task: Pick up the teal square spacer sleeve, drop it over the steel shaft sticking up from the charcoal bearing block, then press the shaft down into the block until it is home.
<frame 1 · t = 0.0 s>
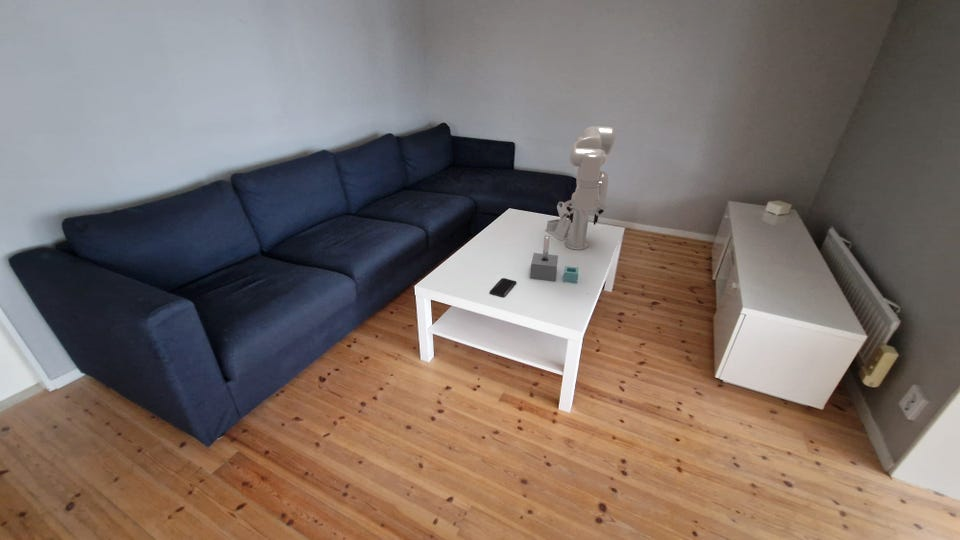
hand: (582, 222, 169), 31 cm above the table, tool pointing down, fingers open, 9 cm apart
shaft: (545, 250, 187), point 13 cm above the table, slide at 5.0 cm
bearing block: (543, 273, 193), on the table
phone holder: (559, 234, 237), on the table
phone: (503, 289, 182), on the table
spacer: (570, 278, 189), on the table
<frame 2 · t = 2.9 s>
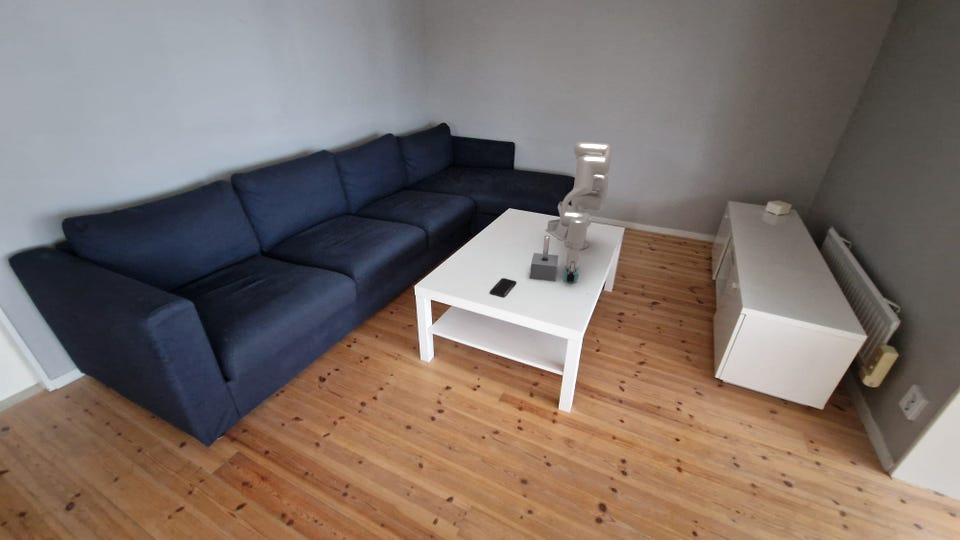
hand: (570, 277, 189), 1 cm above the table, tool pointing down, fingers closed on spacer, 6 cm apart
spacer: (570, 279, 189), on the table, touching gripper
everything else where it was.
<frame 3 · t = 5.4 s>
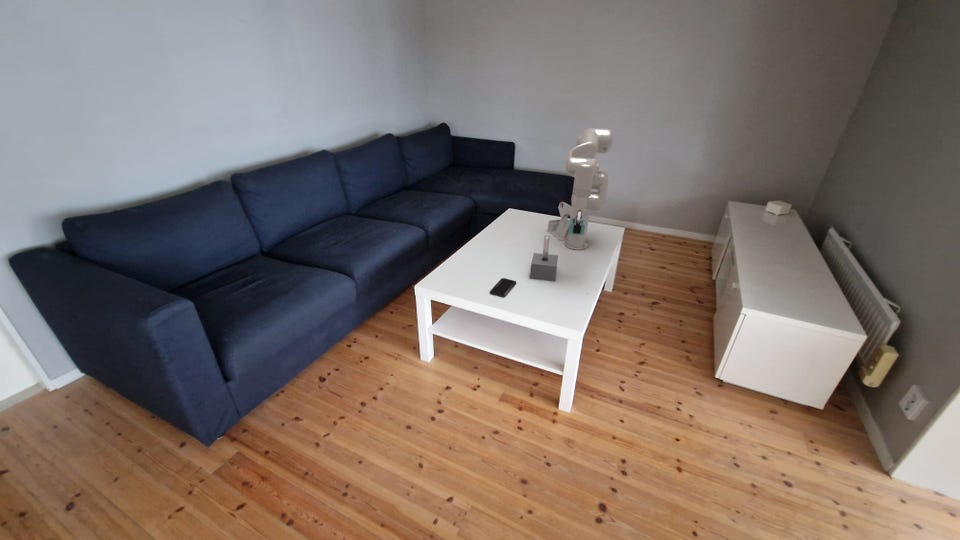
hand: (576, 229, 177), 26 cm above the table, tool pointing down, fingers closed on spacer, 6 cm apart
spacer: (576, 231, 177), point 25 cm above the table, touching gripper
everything else where it was.
when the fingers open (18 cm above the table, at t = 8.2 s): spacer drops 9 cm, resting on bearing block.
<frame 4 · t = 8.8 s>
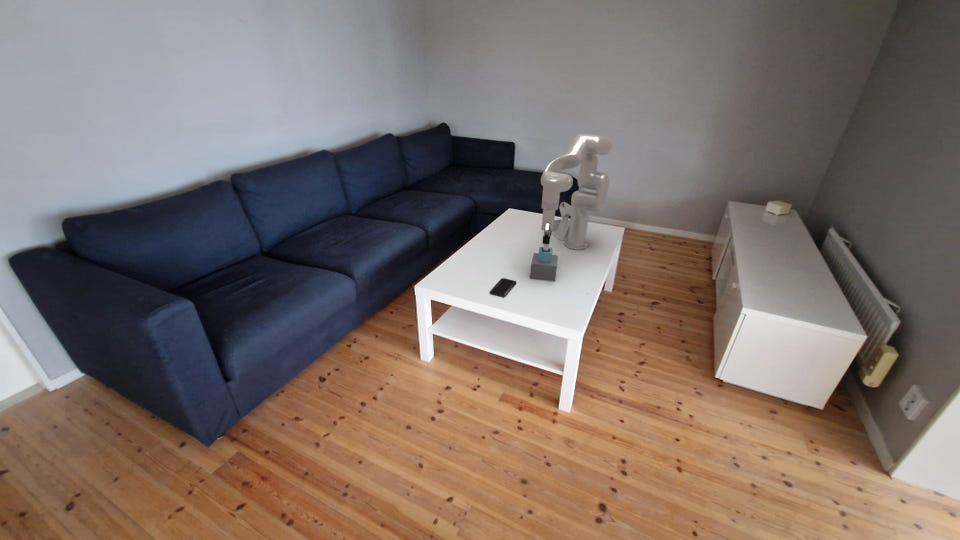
hand: (546, 239, 184), 19 cm above the table, tool pointing down, fingers open, 9 cm apart
spacer: (544, 259, 189), point 8 cm above the table, touching bearing block
everything else where it was.
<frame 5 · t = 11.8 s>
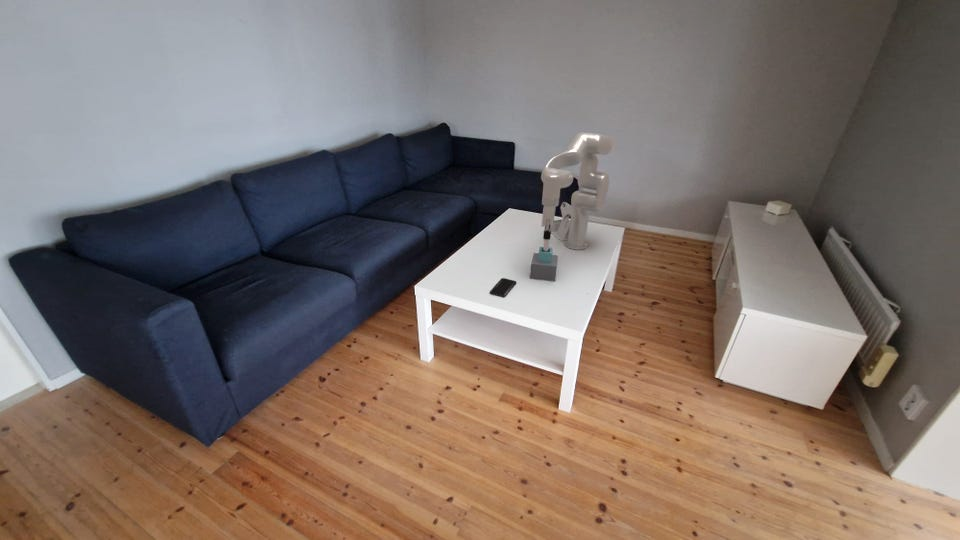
hand: (546, 238, 184), 19 cm above the table, tool pointing down, fingers closed
shaft: (545, 251, 188), point 12 cm above the table, slide at 4.0 cm, touching gripper
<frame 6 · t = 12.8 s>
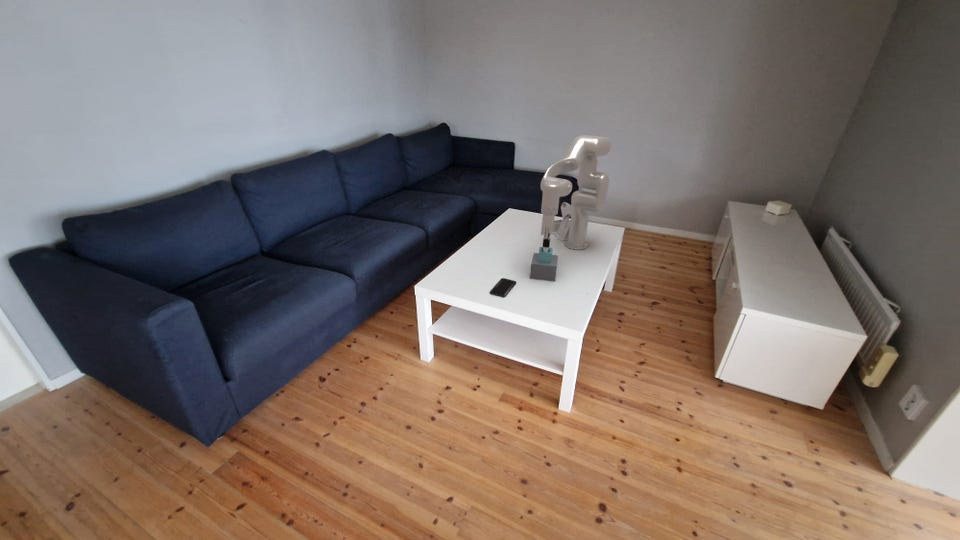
hand: (546, 246, 186), 15 cm above the table, tool pointing down, fingers closed
shaft: (544, 259, 189), point 8 cm above the table, slide at 0.0 cm, touching gripper
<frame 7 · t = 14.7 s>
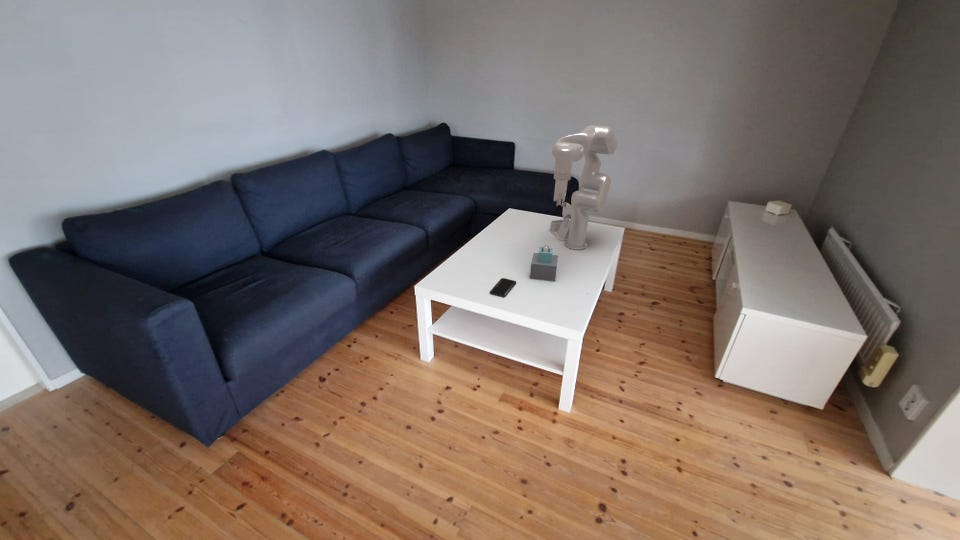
hand: (558, 213, 185), 29 cm above the table, tool pointing down, fingers closed
shaft: (544, 259, 189), point 8 cm above the table, slide at 0.0 cm
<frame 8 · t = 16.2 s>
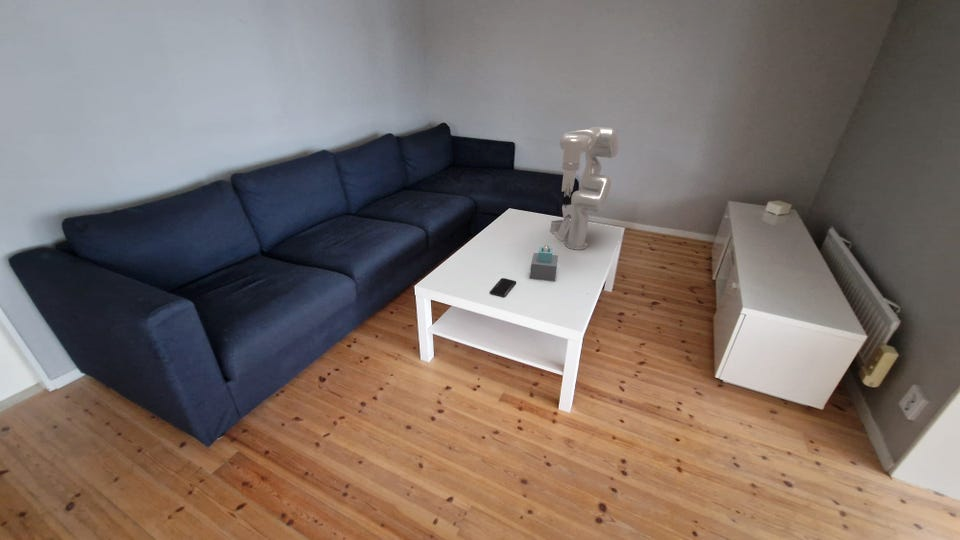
hand: (566, 204, 188), 32 cm above the table, tool pointing down, fingers closed
at the end: shaft slide at 0.0 cm; spacer 0.0 cm off-centre on the bearing block, point 8.0 cm above the bearing block's base; spacer tilted 0° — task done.
